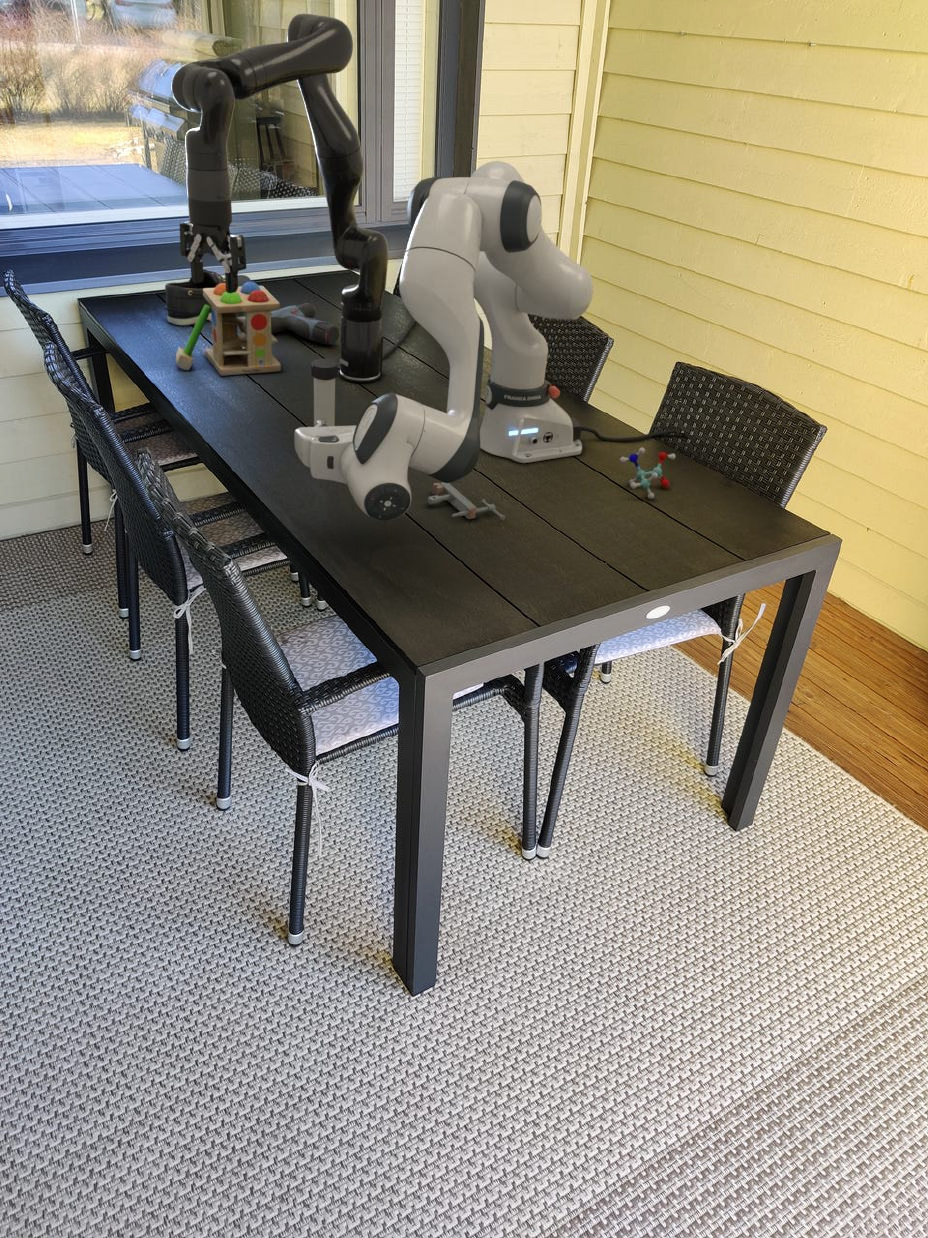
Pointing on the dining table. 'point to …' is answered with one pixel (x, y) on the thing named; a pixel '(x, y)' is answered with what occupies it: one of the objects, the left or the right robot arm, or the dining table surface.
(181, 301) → the boat shoe
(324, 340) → the power drill
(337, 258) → the left robot arm
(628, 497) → the dining table surface
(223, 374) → the pounding bench toy
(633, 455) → the molecular model
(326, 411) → the jar
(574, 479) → the dining table surface
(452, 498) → the clamp
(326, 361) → the lid
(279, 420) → the dining table surface
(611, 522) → the dining table surface
